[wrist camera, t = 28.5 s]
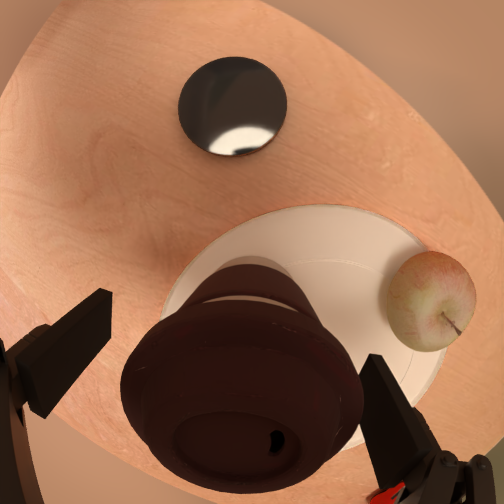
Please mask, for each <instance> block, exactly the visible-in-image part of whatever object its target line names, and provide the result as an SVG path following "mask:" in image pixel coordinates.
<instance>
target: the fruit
mask: <svg viewBox="0 0 504 504" xmlns="http://www.w3.org/2000/svg"><path fill="white" fill-rule="evenodd" d="M475 306H476V290H475V286H474V283H473V281H472V279H471V277H470V275H469V274H468V272H467V271H466V269H465V268H464V267H463V266H462V265H461V264H460V263H459V262H458V261H456V260H455V259H453V258H452V257H450V256H448V255H445V254H443V253H439V252H422V253H419V254H416V255H414V256H412V257H410V258H409V259H408V260H407V261H405V262H404V263H403V264H402V266H401V267H400V268H399V269H398V271H397V272H396V274H395V275H394V277H393V279H392V281H391V283H390V285H389V288H388V292H387V300H386V310H387V318H388V322H389V325H390V327H391V330H392V331H393V333H394V335H395V336H396V337H397V339H398V340H399V341H401V342H402V343H403V344H404V345H406V346H407V347H409V348H410V349H413V350H415V351H419V352H434V351H438V350H441V349H443V348H445V347H447V346H449V345H450V344H451V343H453V342H454V341H455V340H456V339H457V338H458V337H459V336H460V335H461V333H462V332H463V330H464V329H465V328H466V326H467V325H468V323H469V322H470V320H471V318H472V316H473V314H474V310H475Z"/></svg>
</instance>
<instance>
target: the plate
mask: <svg viewBox="0 0 504 504" xmlns="http://www.w3.org/2000/svg"><path fill="white" fill-rule="evenodd" d="M422 252H430V251H429V250H428V249H427V248H426V247H425V245H424V244H423V243H422V242H421V241H420V240H419V239H418V238H417V237H415V236H414V235H413V234H412V233H411V232H409V231H408V230H407V229H405V228H404V227H403V226H401V225H399V224H398V223H396V222H394V221H392V220H390V219H388V218H386V217H384V216H382V215H379V214H377V213H374V212H371V211H368V210H364V209H360V208H356V207H350V206H344V205H332V204H312V205H302V206H295V207H289V208H284V209H280V210H276V211H273V212H269V213H266V214H263V215H261V216H258V217H255V218H253V219H250V220H248V221H246V222H244V223H242V224H240V225H238V226H236V227H234V228H232V229H231V230H229V231H227V232H226V233H224V234H223V235H221V236H220V237H218V238H217V239H215V240H214V241H213V242H211V243H210V244H209V245H208V246H206V247H205V248H204V249H203V250H202V251H201V252H200V253H199V254H198V255H197V256H196V257H195V258H194V259H193V260H192V261H191V262H190V263H189V264H188V265H187V267H186V268H185V269H184V270H183V272H182V273H181V274H180V276H179V277H178V279H177V280H176V282H175V283H174V285H173V287H172V289H171V290H170V292H169V294H168V297H167V299H166V301H165V304H164V306H163V309H162V312H161V316H160V320H159V321H161V320H163V319H164V318H166V317H168V316H170V315H171V314H173V313H175V312H177V310H178V309H179V308H180V307H181V306H182V305H183V303H184V302H185V301H186V300H187V299H188V298H189V296H190V295H191V294H192V293H193V292H194V291H195V289H196V288H197V287H198V286H199V285H200V284H201V283H202V282H203V281H204V280H205V279H206V278H207V277H209V276H210V275H212V274H213V273H214V272H215V271H216V270H217V269H218V268H219V267H220V266H222V265H223V264H224V263H226V262H228V261H230V260H232V259H235V258H238V257H242V256H259V257H264V258H267V259H270V260H272V261H274V262H276V263H278V264H279V265H281V266H282V267H283V268H284V269H285V270H286V271H287V272H288V273H289V274H290V275H291V277H292V278H293V280H294V282H295V283H296V284H297V285H298V286H299V287H300V288H301V289H302V291H303V292H304V294H305V295H306V297H307V299H308V300H309V302H310V304H311V306H312V307H313V309H314V311H315V313H316V314H317V316H318V318H319V320H320V322H321V323H322V325H323V327H325V328H326V329H327V330H328V331H329V332H330V333H332V334H333V335H334V336H335V337H336V338H337V339H338V340H339V342H340V343H341V344H342V345H343V346H344V348H345V349H346V351H347V352H348V354H349V356H350V358H351V360H352V362H353V364H354V366H355V369H356V371H357V373H358V375H359V373H360V371H361V369H362V367H363V365H364V363H365V361H366V359H367V357H368V355H369V353H371V354H378V355H382V356H383V358H384V360H385V362H386V363H387V365H388V367H389V368H390V370H391V372H392V373H393V375H394V377H395V379H396V380H397V382H398V384H399V386H400V387H401V389H402V391H403V393H404V394H405V396H406V398H407V400H408V402H409V403H410V405H411V407H414V406H415V405H416V404H417V403H418V401H419V400H420V399H421V398H422V397H423V395H424V394H425V393H426V391H427V390H428V388H429V387H430V385H431V384H432V382H433V380H434V379H435V377H436V375H437V373H438V371H439V369H440V367H441V365H442V362H443V360H444V357H445V354H446V351H447V347H448V346H447V347H445V348H443V349H441V350H438V351H434V352H419V351H415V350H413V349H410V348H409V347H407V346H406V345H404V344H403V343H402V342H401V341H399V340H398V339H397V337H396V336H395V335H394V333H393V331H392V330H391V327H390V325H389V322H388V318H387V310H386V300H387V292H388V288H389V285H390V283H391V281H392V279H393V277H394V275H395V274H396V272H397V271H398V269H399V268H400V267H401V266H402V264H403V263H404V262H405V261H407V260H408V259H409V258H410V257H412V256H414V255H416V254H419V253H422ZM364 442H365V440H364V437H363V434H362V431H361V428H360V425H358V427H357V429H356V431H355V433H354V434H353V436H352V438H351V439H350V440H349V441H348V442H347V444H346V445H345V446H344V447H343V448H342V449H341V450H340V451H339V452H341V451H344V450H347V449H350V448H352V447H355V446H357V445H360V444H362V443H364Z"/></svg>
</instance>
